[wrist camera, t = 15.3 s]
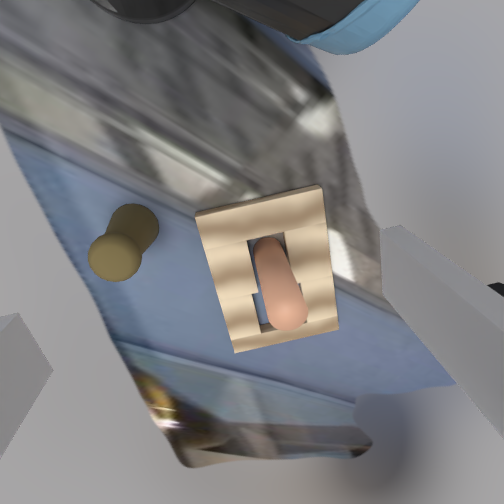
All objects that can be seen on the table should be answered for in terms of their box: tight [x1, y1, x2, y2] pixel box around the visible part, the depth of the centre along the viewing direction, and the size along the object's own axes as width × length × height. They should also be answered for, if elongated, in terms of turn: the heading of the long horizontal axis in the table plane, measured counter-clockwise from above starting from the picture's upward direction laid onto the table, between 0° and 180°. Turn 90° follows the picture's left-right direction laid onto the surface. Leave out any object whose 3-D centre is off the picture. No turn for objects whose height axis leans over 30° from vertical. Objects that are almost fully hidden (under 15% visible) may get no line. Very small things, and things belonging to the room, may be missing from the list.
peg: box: [253, 237, 308, 331], centre depth 40 cm, size 4×4×15 cm
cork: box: [88, 204, 159, 282], centre depth 39 cm, size 6×6×11 cm
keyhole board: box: [195, 185, 339, 353], centre depth 47 cm, size 22×16×2 cm
